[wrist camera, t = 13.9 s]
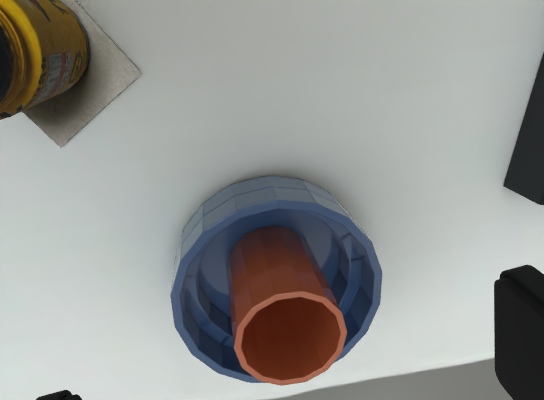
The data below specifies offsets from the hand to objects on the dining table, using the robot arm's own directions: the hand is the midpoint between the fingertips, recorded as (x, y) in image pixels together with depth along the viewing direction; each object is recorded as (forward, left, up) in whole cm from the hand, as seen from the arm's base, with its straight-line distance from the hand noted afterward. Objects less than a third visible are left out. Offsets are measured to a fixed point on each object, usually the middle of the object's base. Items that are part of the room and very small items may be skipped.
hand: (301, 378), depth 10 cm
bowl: (+5, +9, -23) cm, 25 cm away
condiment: (+5, -12, -23) cm, 26 cm away
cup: (+5, +9, -22) cm, 24 cm away
